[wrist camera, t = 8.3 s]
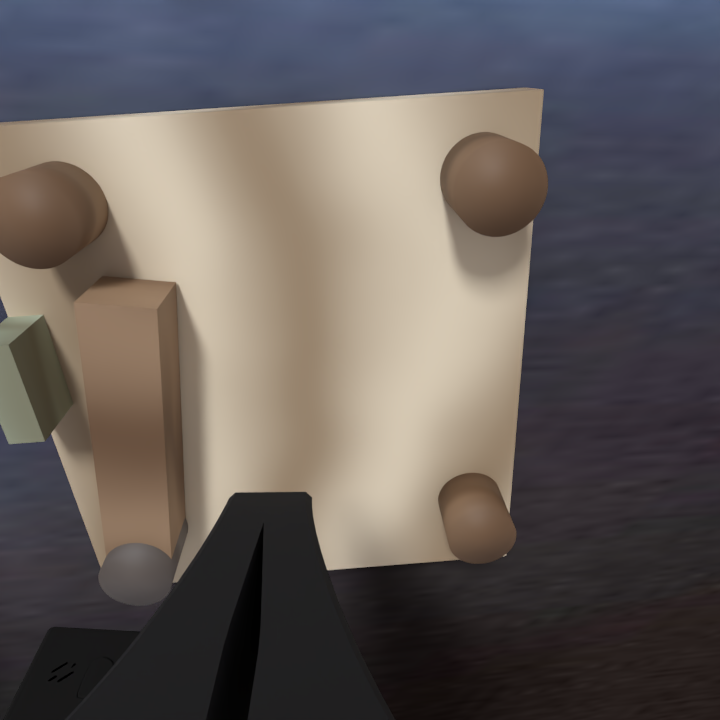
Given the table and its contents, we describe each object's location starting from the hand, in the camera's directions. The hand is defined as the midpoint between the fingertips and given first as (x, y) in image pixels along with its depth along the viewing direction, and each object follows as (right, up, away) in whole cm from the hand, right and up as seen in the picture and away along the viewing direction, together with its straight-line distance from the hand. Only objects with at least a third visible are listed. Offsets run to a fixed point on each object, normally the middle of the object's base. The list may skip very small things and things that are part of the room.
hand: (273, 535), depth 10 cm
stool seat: (-1, +3, +9) cm, 10 cm away
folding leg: (-5, +1, +8) cm, 10 cm away
